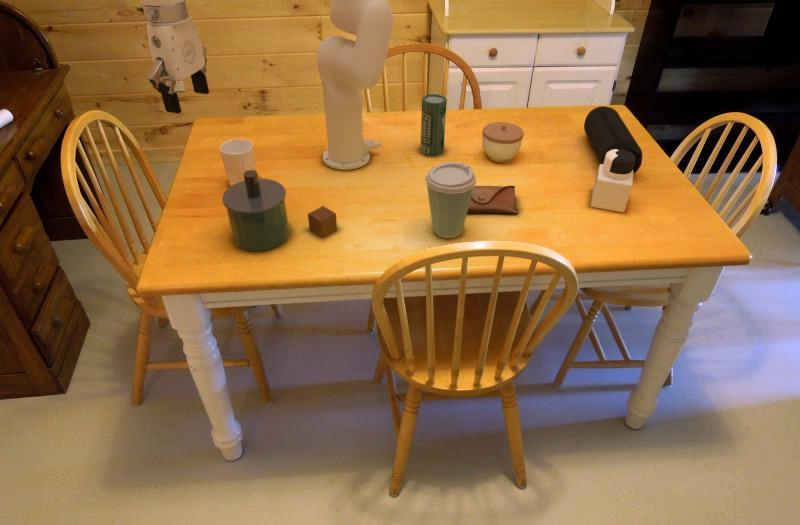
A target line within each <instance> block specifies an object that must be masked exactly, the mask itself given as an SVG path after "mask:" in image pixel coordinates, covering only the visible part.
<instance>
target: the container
mask: <svg viewBox="0 0 800 525" xmlns="http://www.w3.org/2000/svg"><path fill="white" fill-rule="evenodd" d="M635 160H636V158H635V156H634V155H633V154H632V153H631V152H628V151H626V150H622V149H614V150H610V151H608V152H607V153H606V156H605V160H604V164H601V163H600V164H599V165H598V169H597V173H596V177H595V179H594V180H595V181H594V185H593V188H592V193H591V201H590V207H592V208H595V209H596V208H597V209H601V210H602V209H603V210H607V211H614V212H618V213H624V212H625V211H626V207H627V205H628V200H629V199H630V195H631V193H632V192H631V191H632V188H633V184H634V183H633V182H634V174H633V167H634V164H635Z"/></svg>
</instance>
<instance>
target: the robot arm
mask: <svg viewBox="0 0 800 525" xmlns="http://www.w3.org/2000/svg"><path fill="white" fill-rule="evenodd" d="M140 2H141V6H142V9H143V14H144V19H145V20H146V23H147V24H146V31H147V32H146V33H147V40H148V46H149V51H150V52H149V53H150V57H151V61H152V67H151V68H150V71H149V72H148V74H147V80H148V81H149V82H150V84H151V85H152V87H153V89H155V90H156V91H157V92H158V93H159V94H161V99H162V103H163V106H164V109H165V112H166V113H172V114H181V113H182V107H181V104H180V100H179V96H178V92H175V90H176V83H177V82H183V81H184V80H186V79H188V78H189V77H190V79H191V83H192V88H193V92H194V93H195V94H201V95H208V94H210V89H209V85H208V80H207V75H206V74H207V73H208V72H207V67H206V66H207V62H208V61H207V60H208V59H207V49H208V48H207V46H205V45H203V44H202V42H201V38H200V35H199V31H198V29H197V26H196V23H195V21H194V18H193V16H192V15H191V14H190V11H189V7H188V3H187V0H140ZM329 19H330V22H331V23H332V25H333V26H334V27H335V28H337V29H338V30H340V31H343V32H345V33H348V34H350V35H353V36H355V40H353V39H350V38H347V37H344V36H341V35H331V36H327V37H326V38H324V39H323V40H322V41H321V42H320V44H319V45H318V47H317V51H316V67H317V69H318V70H317V71H318V74H319V78H320V81H321V86H322V92H323V93H322V94H323V104H324V105H323V106H324V117H325V118H324V119H325V128H326V142H327V149H326V150H324V152H323V153H322V161H323V163H324V164H325V165H326V166H327V167H329V168H331V169H334V170H335V169H336V170H341V171H348V170H356V169H359V168H362V167H363V166H365V165H366V164H368V163H369V161H370V160H371V153H370V151H371V150H376V149H380V148H381V147H382V144H381V141H380V140H375V141H373V139H372V138H368V139H364V119H363V95H362V90H366V91H367V90H372V89H373V88H375V87H376V85H378V84H379V82H380V80H381V78H382V76H383V73H384V71H385V70H384V69H385V66H386V62H387V57H388V53H389V52H388V50H389V46H390V41H391V37H392V31H393V26H394V14H393V10H392V6H391V4H390V3H389V1H388V0H330V6H329ZM167 82H168V85H167V84H166V83H167Z"/></svg>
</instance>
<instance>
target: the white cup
mask: <svg viewBox="0 0 800 525" xmlns="http://www.w3.org/2000/svg"><path fill="white" fill-rule="evenodd" d="M218 150H219V153H220V156H221V160H222V164H223V167H224V171H225V174H226V176H227V179H228V184H229V186H230V187H231V186H232V185H234V184H236V183H238V182H241V181H244V175H243V174H244V172H246V171H249V170H254V171H256V172H257V169H256V168H257V167H256V166H257V165H256V158H255V150H254V143H253V142H252V141H251V140H250V139H245V138H233V139H229V140H227V141H224V142H223V143H221V144H220V145H219V149H218Z"/></svg>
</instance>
